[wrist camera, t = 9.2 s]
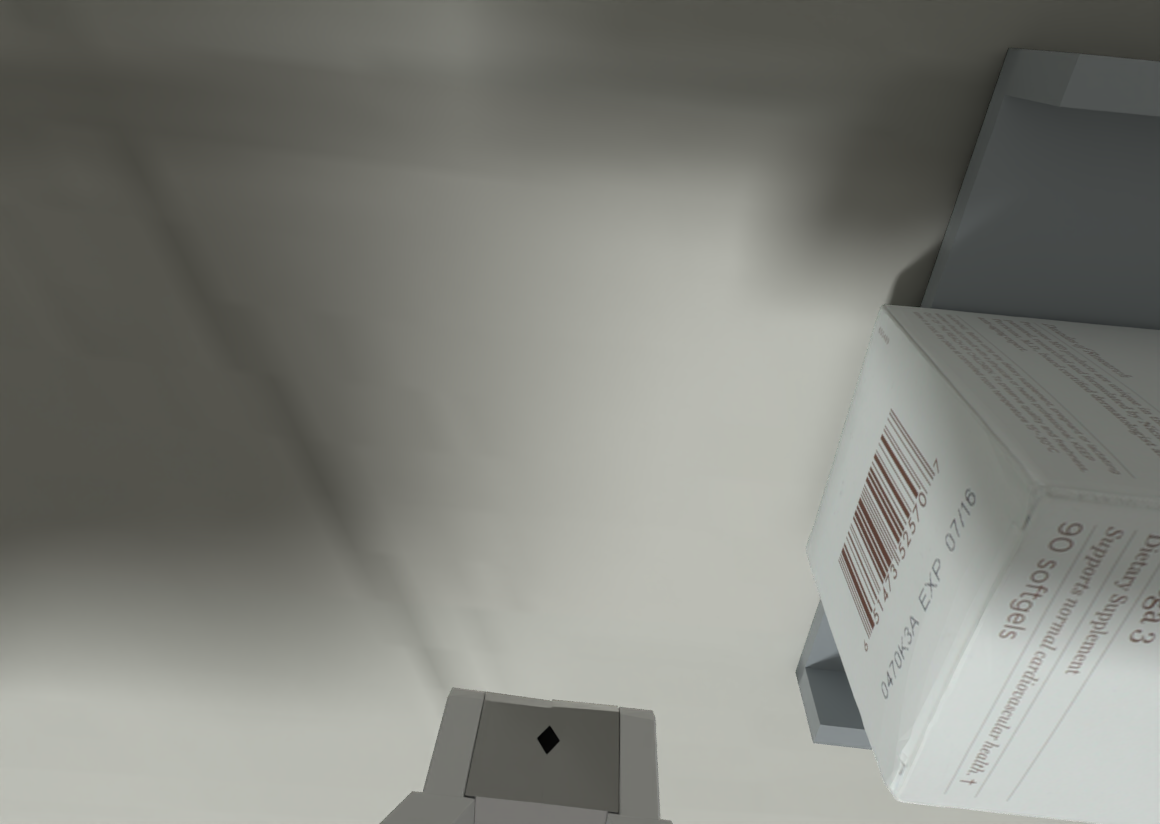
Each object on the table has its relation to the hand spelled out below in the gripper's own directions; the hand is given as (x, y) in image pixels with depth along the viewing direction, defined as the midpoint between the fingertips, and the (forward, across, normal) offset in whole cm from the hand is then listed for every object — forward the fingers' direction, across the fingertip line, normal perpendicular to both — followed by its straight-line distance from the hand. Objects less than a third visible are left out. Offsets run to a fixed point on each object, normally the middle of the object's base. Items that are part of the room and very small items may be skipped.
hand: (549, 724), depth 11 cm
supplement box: (+5, +6, +1) cm, 8 cm away
